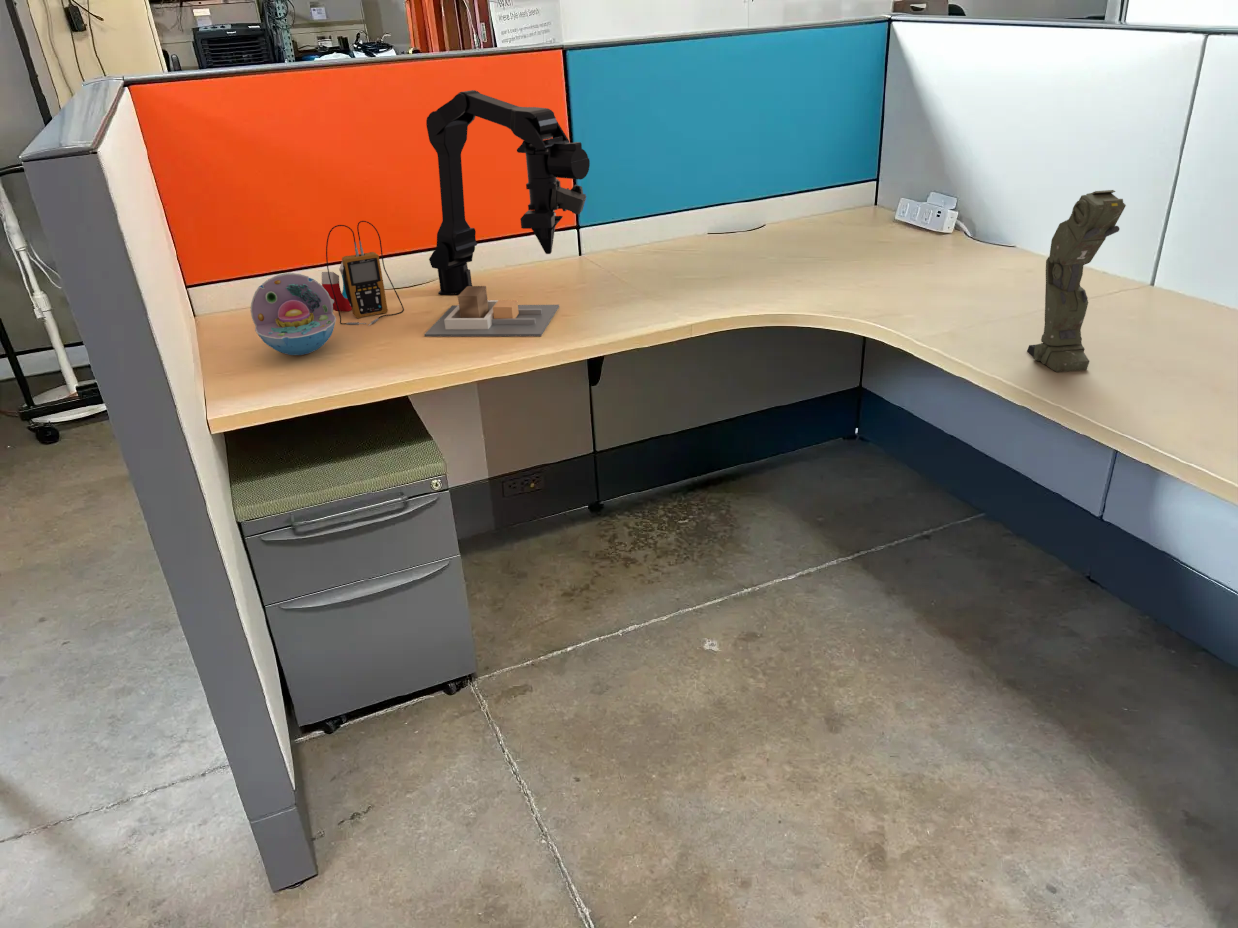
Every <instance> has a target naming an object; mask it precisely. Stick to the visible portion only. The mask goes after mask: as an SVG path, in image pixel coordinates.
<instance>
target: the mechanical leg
mask: <svg viewBox="0 0 1238 928" xmlns="http://www.w3.org/2000/svg"><path fill="white" fill-rule="evenodd" d="M1115 192H1116V191H1115V190H1114V189H1106V190H1095V191H1093V192H1089V193H1086V194H1082V195H1081V196H1080V197H1079V199H1078V200H1077V201H1076V202H1075V203H1074V206H1073V207H1072V211H1071V213H1070V215H1069V217H1068V219H1066V220H1064V221H1062V222H1060V223H1059V224H1058V226H1057V228H1056V230H1055V233H1054V234H1053V236H1052V239H1051V243H1050V247H1049V248H1050V250H1049V256H1048V257H1047V258H1046V260H1045V296H1044V298H1045V300H1044V302H1045V303H1044V328H1043V334H1042V335H1041V339H1040V343H1038V344H1029V345H1028V348H1027V350H1026V352H1028V354H1030V356H1032V357H1033V359H1034V360H1036V361H1038V362H1041V364H1043V365H1045V366H1047V367H1048V368H1049V369H1051V370H1052V371H1054V372H1056V373H1060V372H1061V373H1062V372H1063V373H1064V372H1074V371H1086V370H1087V369H1088V368H1089V364H1090V359H1089V358H1088V356H1087V355H1086V353H1085V346H1083V343H1082V340H1083V339H1082V332H1081V330H1082V327H1083V323H1084V320H1085V317H1086V315H1087V314H1086V313H1087V310H1088V309H1087V308H1088V306H1089V300H1088V296H1087V292H1086V290H1085V288H1084V287H1082V286H1081V281H1082V278H1083V275H1084V266H1085V265H1088V264H1090V263H1091V262H1092V260H1093V259H1094V258H1095V255H1096V254H1097V253H1098V252H1099V249H1100V248H1101V247H1102V245H1103V243H1104V242H1105V241H1106V239H1107V237H1109V236H1111V235H1114V234H1116V233H1118V232H1120V226H1119V225H1117V222H1118V221H1119V219H1120V217H1121V216H1122V214H1123V212H1124V210H1125V208H1126V207H1127V205H1126V203H1125V202H1124V199H1123V198H1118V197H1117V196H1116V195H1114V194H1113V193H1115Z"/></svg>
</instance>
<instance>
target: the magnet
mask: <svg viewBox="0 0 1238 928" xmlns="http://www.w3.org/2000/svg"><path fill="white" fill-rule="evenodd" d="M338 269H339V272H340V275H341V279H342V285H343V286H342V290H341V286H340V275H339V274H338V273H336V272H334V271H329V274H330V279H331V283H332V287H333V290H334V294H335V297H336V301H337V304H338V308H339V312H343V313H344V312H348V313H349V312H352V308H351V306H350V303H349V301H348V298H347V295H346V291H345V286H344V280H343V262H342V261H341V263H340V266H339V268H338ZM321 285H322V286H323V287H324V289H325V290H326V291H327V292H328V294H329V296H330V298H331V299H333V300H334V303H333V312H338V309H337V305H336V302H335V298H334V295H333V291H332V287H331V284H330V280H329V275H328V271H321ZM339 312H338V313H339Z"/></svg>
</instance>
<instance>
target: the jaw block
mask: <svg viewBox="0 0 1238 928" xmlns="http://www.w3.org/2000/svg"><path fill="white" fill-rule="evenodd" d="M487 293H488V292H487V286H486V285H472V286H467V287H466V288H465V289H464V290H463V291H462V292H461V293H460V294H457V300H458V301H457V302H458V305H459V309H460V317H461V318H484V317H485V316H486V315H487V313H488V312H489V309H488V300H489V299H488V294H487Z"/></svg>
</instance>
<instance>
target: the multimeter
mask: <svg viewBox="0 0 1238 928" xmlns="http://www.w3.org/2000/svg"><path fill="white" fill-rule="evenodd" d="M361 223H367V224H369V225H370V226H372V227H373V228H374V230H375V231H376V233H377V236H378V239H379V246H380V256H381V261H380V256H379V254H378V253H376V252H374V251H369V252H364V249H363V247H362V241H361V236H360V232H359V225H360V224H361ZM338 227H345V228H347V229H348V230H350V232H351V233H352V237H353V242H354V243H353V244H354V252H355V254H352V255H345V256H344V255H343V257H342V258H341V263H342V262H343V279H342V281H343V280H344V286H345V291H346V295H347V298H348V301H349V303H350V306H351V308H352V310H351V312H352V315H353V316H354V318H357V319H362V318H364V317H369V316H375V315H381V314H382V315H381V316H379V317H377V318H375V319H374V320H372V321H370V323H369V324H368V322H356V321H355V322H353V321H351V322H342V317H341V313H340V312H339V308H338V304H337V301H336V297H335V294H334V290H333V287H332V283H331V279H330V274H329V272H330V269H329V262H328V258H329V257H328V245H329V238H330V234H331V232H332V231H333V229H335V228H338ZM356 227H357V236H358V243H359V249H358V245H357V241H356V237H355V233H354V230H353V229H352V228H351V227H349V226H348V225H346V224H337V225H334V226H333V227H332V228H331V229H330V230H329V232H328V235H327V240H326V244H325V245H326V246H325V257H326V258H325V260H326V269H327V272H328V275H329V280H330V284H331V287H332V291H333V295H334V298H335V302H336V305H337V309H338V311H337V312H338V315H339V325H350V326H352V325H355V326H356V325H357V326H359V325H366V324H368V325H367V326H368V327H369V326H371V325H374V324H375V323H376V322H378V321H379V319H380V318H383V317H389V316H396V315H399V314H402V313H404V310H405V307H404V306H403V303H402V301H401V299H400V296H399V295H398V292H397V291H396V288H395V287H394V286H395V285H393V282H392V280H391V278H390V276H389V275H388V272H387V270H386V267H385V264H384V261H385V260H384V255H383V247H382V241H381V236H380V234H379V232H378V229H377V228H376V227H375V226H374V225H373V224H372V223H371V222H369V221H366V220H360V221H359V222H358V223H357V226H356ZM359 251H360V253H359ZM381 262H382V263H381ZM381 264H382V266H383V270H384V272H385V275H386V276H387V278H388V280H389V282H390V284H391V287H392V288H393V291H394V293H395V295H396V297H397V300H398V301H399V303H400V306H401V308H402V310H401V311H400V312H396V313H391V314H387V313H388V312H389V309H388V305H387V298H386V290H385V285H384V279H383V274H382V273H383V272H382V268H381Z"/></svg>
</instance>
